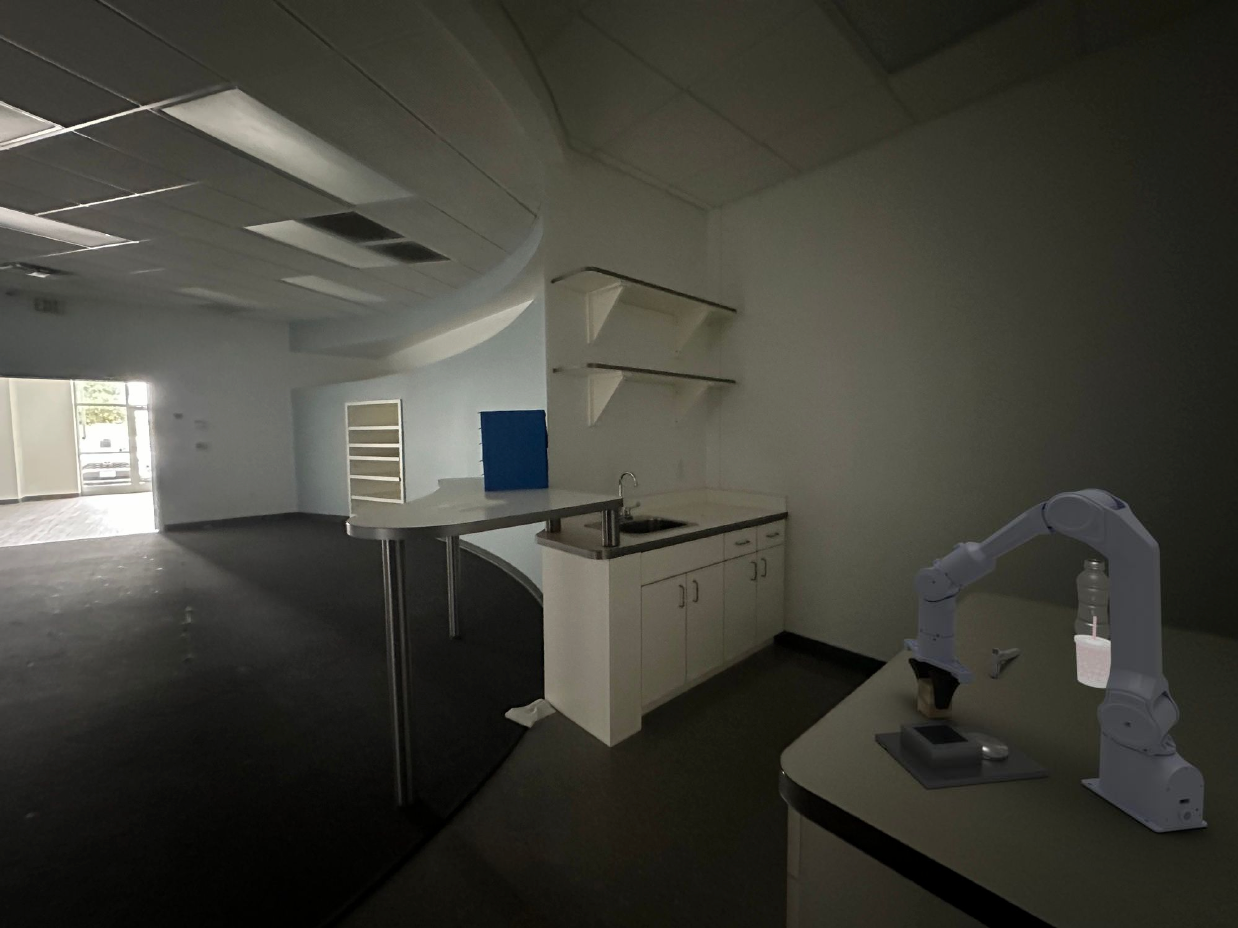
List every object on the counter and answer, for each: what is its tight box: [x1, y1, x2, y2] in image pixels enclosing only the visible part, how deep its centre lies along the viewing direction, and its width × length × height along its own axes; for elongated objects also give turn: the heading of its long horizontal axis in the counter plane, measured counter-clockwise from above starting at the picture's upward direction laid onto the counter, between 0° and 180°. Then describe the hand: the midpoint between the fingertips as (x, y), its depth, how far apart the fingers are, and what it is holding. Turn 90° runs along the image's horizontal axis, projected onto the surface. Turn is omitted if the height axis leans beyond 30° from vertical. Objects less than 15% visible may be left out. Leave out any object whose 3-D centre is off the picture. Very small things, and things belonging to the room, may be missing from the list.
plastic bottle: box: [1074, 559, 1110, 640], centre depth 124 cm, size 6×7×20 cm
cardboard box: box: [917, 678, 953, 719], centre depth 92 cm, size 3×4×6 cm, turn 97°
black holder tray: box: [874, 719, 1050, 790], centre depth 79 cm, size 12×20×4 cm, turn 97°
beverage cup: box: [1073, 616, 1111, 689], centre depth 103 cm, size 6×6×14 cm
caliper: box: [989, 647, 1022, 679], centre depth 112 cm, size 20×1×6 cm, turn 129°
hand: (934, 702), depth 92 cm, fingers closed on cardboard box, 3 cm apart
